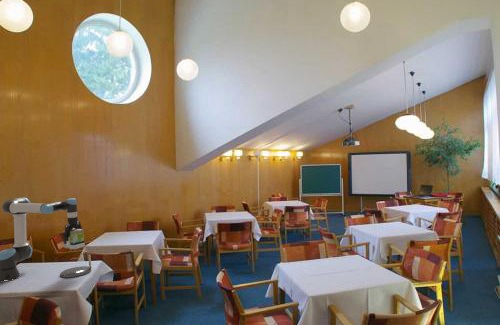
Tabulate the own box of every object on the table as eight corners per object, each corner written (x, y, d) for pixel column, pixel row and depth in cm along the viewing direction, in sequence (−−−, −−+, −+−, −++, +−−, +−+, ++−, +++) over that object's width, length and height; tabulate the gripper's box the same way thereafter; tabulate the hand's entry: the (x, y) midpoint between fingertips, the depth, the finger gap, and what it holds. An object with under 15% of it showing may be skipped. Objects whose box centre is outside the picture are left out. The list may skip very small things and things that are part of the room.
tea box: (85, 246, 274) (84, 229, 273) (73, 249, 265) (72, 231, 265) (75, 244, 282) (74, 227, 281) (63, 247, 273) (62, 230, 273)
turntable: (57, 279, 259) (56, 263, 259) (62, 270, 280) (61, 255, 280) (90, 274, 268) (89, 258, 267) (92, 266, 289) (91, 251, 289)
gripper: (64, 220, 260) (66, 247, 261) (86, 214, 283) (88, 239, 284) (57, 219, 262) (58, 246, 263) (79, 214, 285) (80, 238, 286)
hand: (74, 242), depth 273 cm, fingers closed on tea box, 11 cm apart
